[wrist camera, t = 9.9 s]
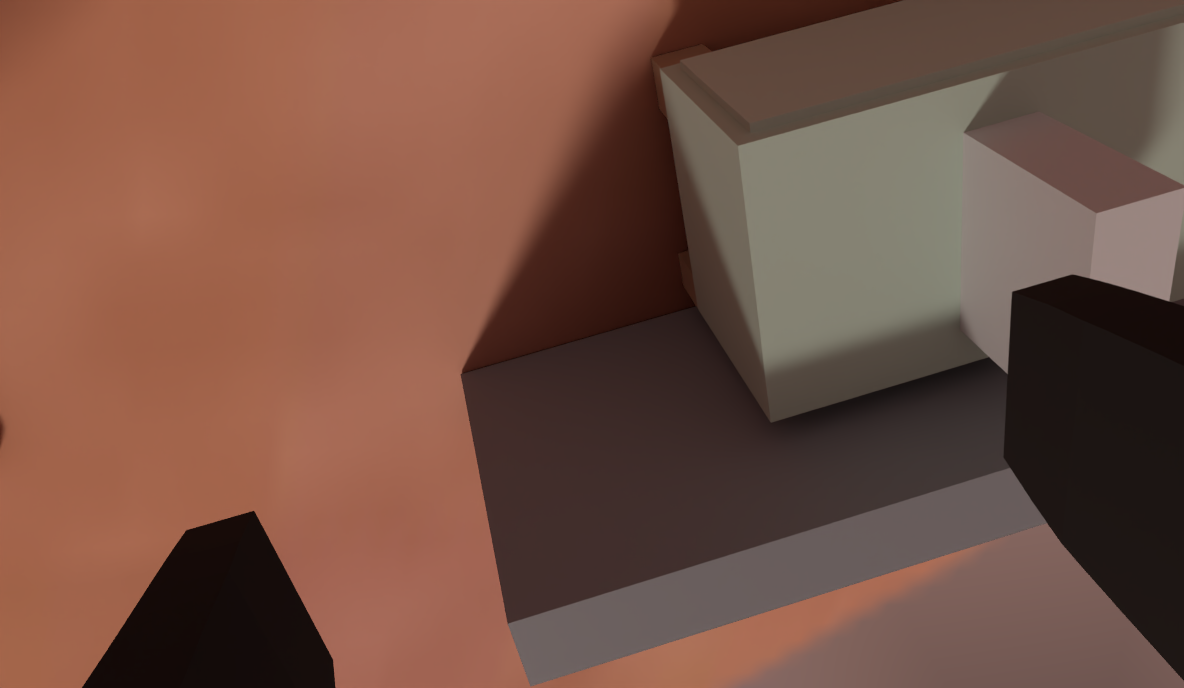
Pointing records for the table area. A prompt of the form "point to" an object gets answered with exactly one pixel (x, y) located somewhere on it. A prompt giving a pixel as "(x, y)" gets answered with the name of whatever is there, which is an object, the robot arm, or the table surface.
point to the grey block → (921, 181)
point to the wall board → (715, 488)
